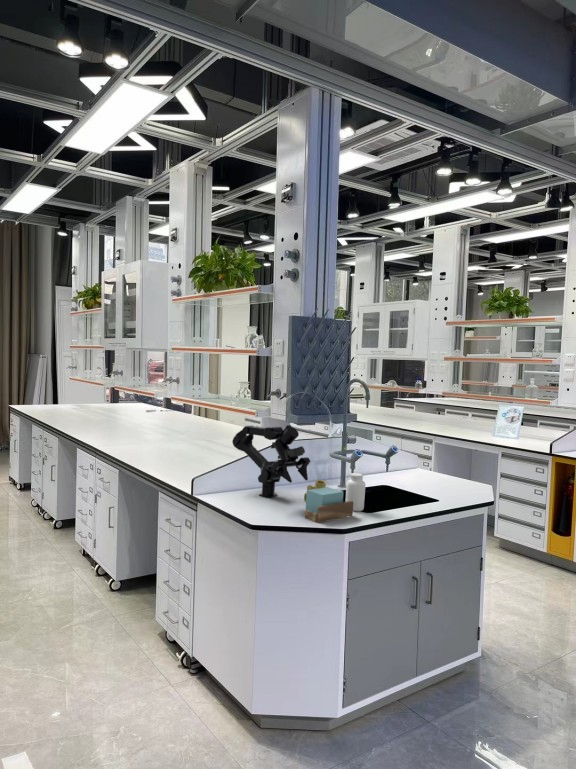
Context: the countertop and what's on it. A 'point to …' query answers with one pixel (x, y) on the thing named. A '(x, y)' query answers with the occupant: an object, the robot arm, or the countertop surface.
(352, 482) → the pill bottle
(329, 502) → the crate
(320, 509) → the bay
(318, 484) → the ball valve
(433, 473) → the countertop surface
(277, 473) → the robot arm
